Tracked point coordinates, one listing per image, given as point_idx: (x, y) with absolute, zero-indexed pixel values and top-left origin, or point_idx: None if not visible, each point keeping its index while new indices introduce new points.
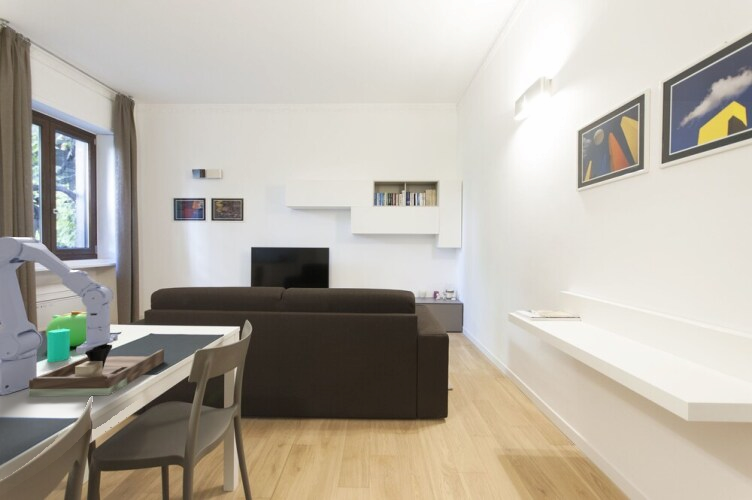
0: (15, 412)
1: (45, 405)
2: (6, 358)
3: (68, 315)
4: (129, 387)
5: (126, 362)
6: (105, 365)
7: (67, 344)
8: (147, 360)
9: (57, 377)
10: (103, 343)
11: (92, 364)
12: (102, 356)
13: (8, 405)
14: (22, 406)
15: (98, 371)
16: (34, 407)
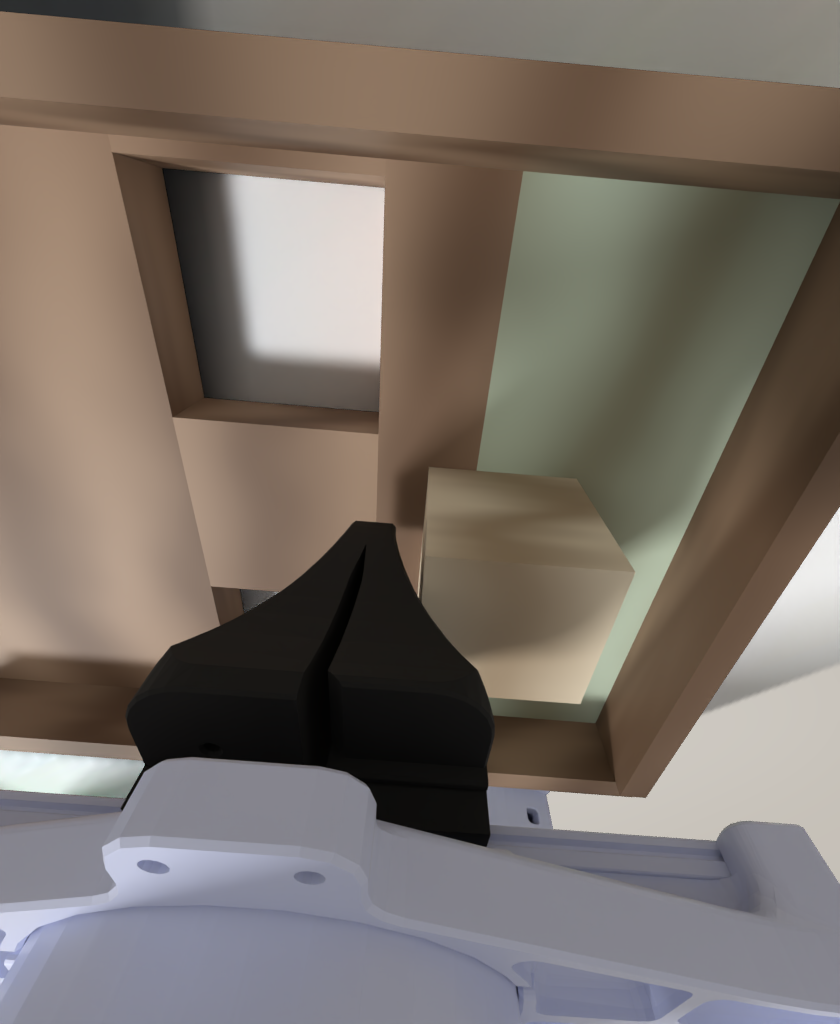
0: (837, 642)
1: (803, 563)
2: None
3: None
4: (647, 11)
5: (36, 453)
6: (164, 583)
7: None
8: None
9: (695, 697)
10: (435, 862)
11: (551, 596)
12: (396, 610)
13: None
14: (750, 656)
15: (490, 503)
16: (805, 599)
